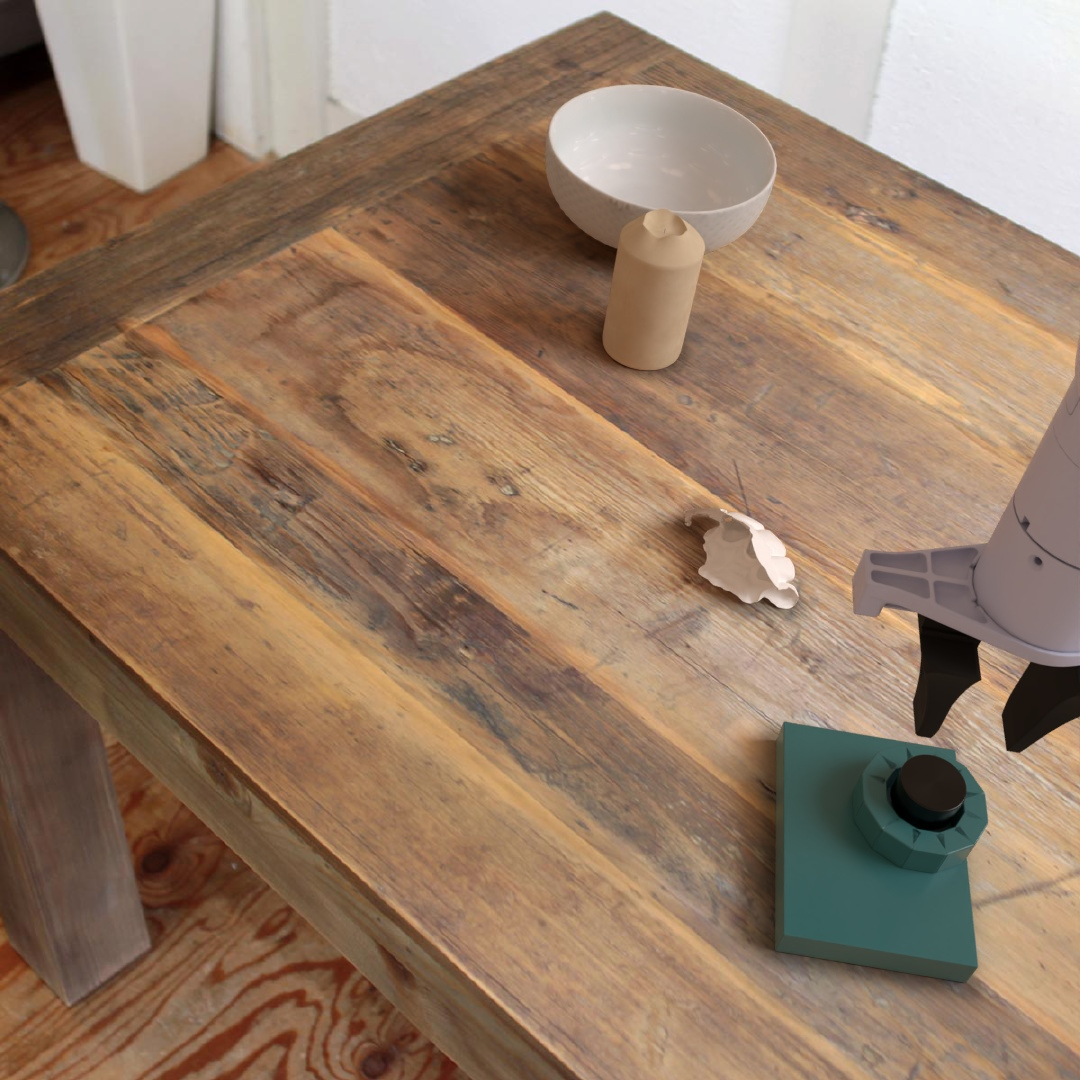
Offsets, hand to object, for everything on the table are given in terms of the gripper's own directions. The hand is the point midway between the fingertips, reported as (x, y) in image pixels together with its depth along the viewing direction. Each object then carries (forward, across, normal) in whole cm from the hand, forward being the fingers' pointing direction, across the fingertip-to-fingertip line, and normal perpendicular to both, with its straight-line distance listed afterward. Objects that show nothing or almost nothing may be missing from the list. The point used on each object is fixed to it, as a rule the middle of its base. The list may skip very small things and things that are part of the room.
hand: (966, 726), depth 60 cm
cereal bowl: (+10, +17, -50) cm, 54 cm away
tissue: (+10, +9, -16) cm, 21 cm away
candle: (+10, +16, -35) cm, 40 cm away
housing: (+9, +2, +2) cm, 10 cm away
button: (+6, 0, 0) cm, 6 cm away
